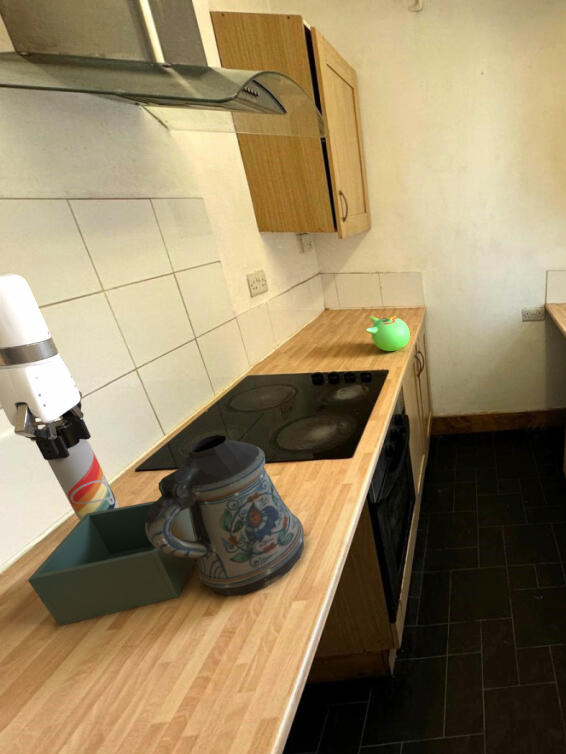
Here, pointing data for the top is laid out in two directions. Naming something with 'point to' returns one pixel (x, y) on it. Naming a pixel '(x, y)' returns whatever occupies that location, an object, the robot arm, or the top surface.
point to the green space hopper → (389, 333)
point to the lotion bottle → (81, 474)
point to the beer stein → (227, 518)
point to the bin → (111, 566)
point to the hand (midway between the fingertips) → (68, 447)
